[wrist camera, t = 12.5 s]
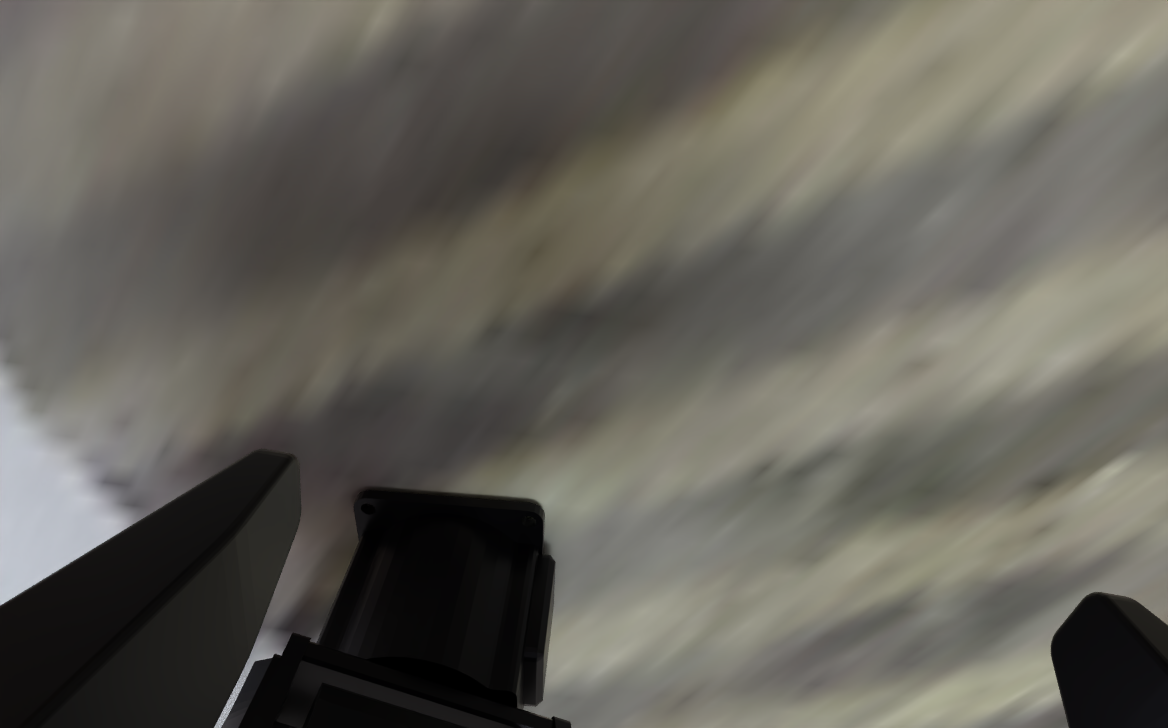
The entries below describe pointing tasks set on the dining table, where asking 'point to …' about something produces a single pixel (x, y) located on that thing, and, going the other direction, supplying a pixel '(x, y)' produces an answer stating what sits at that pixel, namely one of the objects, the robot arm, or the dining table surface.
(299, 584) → the dining table surface
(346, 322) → the dining table surface
